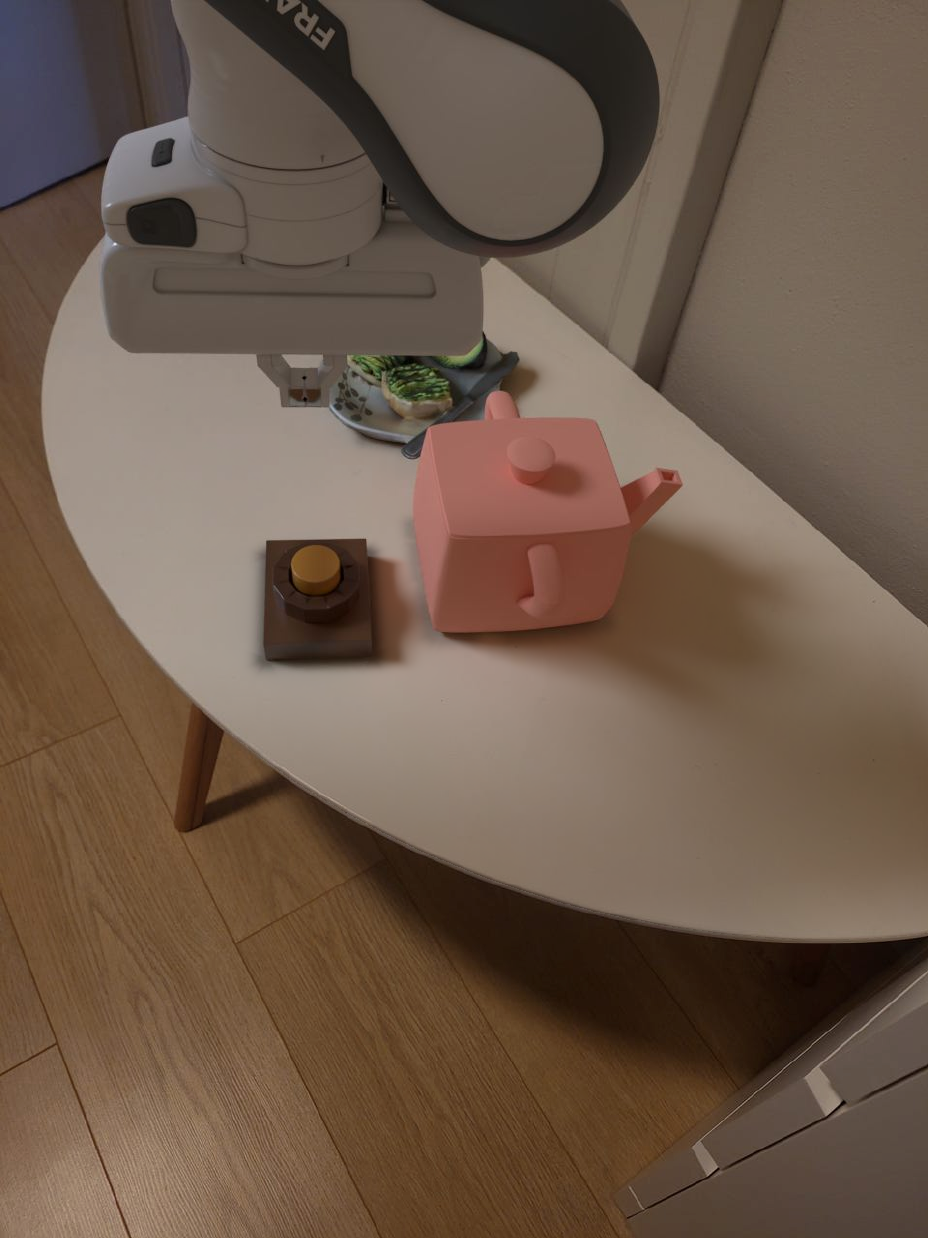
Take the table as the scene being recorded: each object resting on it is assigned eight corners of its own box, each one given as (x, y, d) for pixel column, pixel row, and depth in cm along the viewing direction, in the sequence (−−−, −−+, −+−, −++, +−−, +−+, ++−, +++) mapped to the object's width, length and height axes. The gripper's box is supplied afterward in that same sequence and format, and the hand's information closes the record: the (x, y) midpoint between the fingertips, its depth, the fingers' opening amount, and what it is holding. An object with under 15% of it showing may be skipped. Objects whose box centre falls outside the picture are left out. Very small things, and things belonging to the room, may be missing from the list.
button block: (265, 660, 69) (260, 630, 66) (268, 557, 75) (264, 525, 71) (371, 656, 70) (372, 626, 67) (366, 555, 76) (366, 523, 73)
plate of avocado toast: (497, 487, 82) (503, 449, 78) (301, 452, 82) (298, 413, 78) (521, 351, 93) (528, 313, 89) (349, 321, 93) (348, 282, 89)
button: (292, 597, 68) (291, 582, 67) (292, 559, 70) (291, 545, 69) (340, 595, 69) (340, 581, 67) (339, 558, 71) (339, 544, 69)
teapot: (435, 693, 69) (450, 580, 57) (401, 480, 81) (408, 353, 70) (684, 671, 72) (744, 560, 61) (615, 470, 84) (654, 347, 73)
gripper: (495, 154, 47) (469, 367, 58) (82, 138, 44) (138, 365, 56) (511, 223, 44) (480, 436, 55) (63, 211, 41) (127, 438, 52)
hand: (305, 400), depth 55 cm, fingers closed
